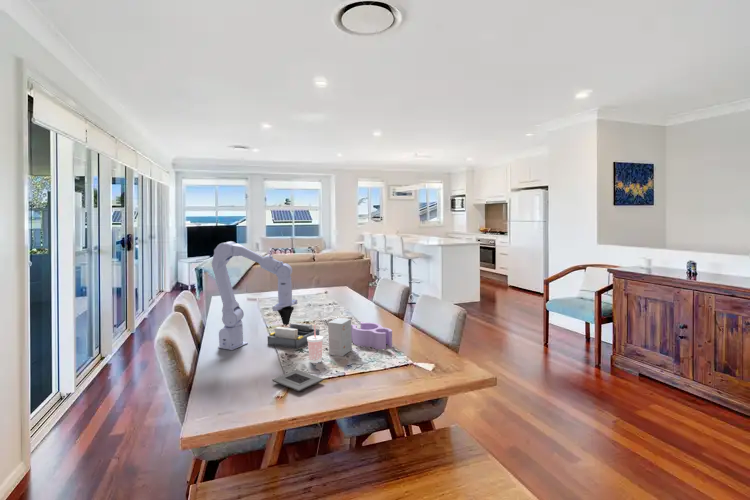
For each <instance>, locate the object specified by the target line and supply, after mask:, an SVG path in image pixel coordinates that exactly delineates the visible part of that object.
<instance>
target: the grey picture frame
mask: <svg viewBox="0 0 750 500" xmlns="http://www.w3.org/2000/svg"><path fill="white" fill-rule="evenodd" d="M271 381H272V382H274V383H276V384H279V385H281V386H284V387H287V388H289V389H291V390H294V391H296V392H301V391H304V390H305V389H308V388H310V387H312V386H314V385H317V384H319V383H322V382H323V381H324V378H322V377H320V376H317V375H313V374H311V373H308V372H305V371H301V370H299V369H294V370H292V371H289V372H287V373H284V374H282V375H280V376H278V377H275V378H273V379H271Z"/></svg>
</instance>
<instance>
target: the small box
mask: <svg viewBox="0 0 750 500" xmlns="http://www.w3.org/2000/svg"><path fill="white" fill-rule="evenodd" d="M327 324H328V325H327V326H328V327H327V329H328V354H329V355H330V356H331V355H332V356H339V357H343V356H345V355H346V354H347V353H349V352H350V351H352V350H353V348H352V347H353V346H352V345H353V341H352V338H351V325H352V319H351V318H346V317H345V318H344V317H337V318H335V319H332V320H330V321H329V322H328V323H327Z"/></svg>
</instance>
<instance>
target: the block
mask: <svg viewBox="0 0 750 500" xmlns="http://www.w3.org/2000/svg"><path fill="white" fill-rule="evenodd" d="M274 332H275V337H281V338H288V339H295V340H297V338H298V329H293V328H288V327H283V326H276V327H275V328H274Z"/></svg>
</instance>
